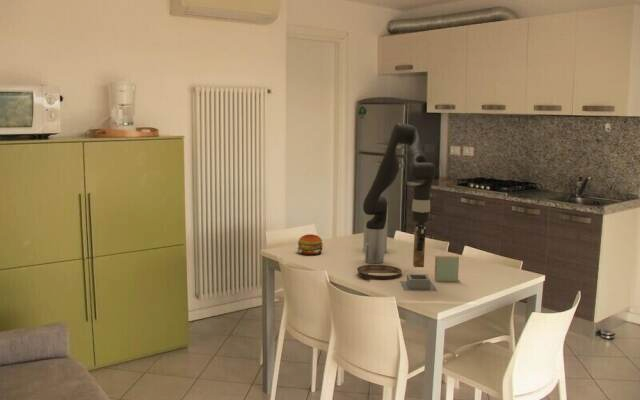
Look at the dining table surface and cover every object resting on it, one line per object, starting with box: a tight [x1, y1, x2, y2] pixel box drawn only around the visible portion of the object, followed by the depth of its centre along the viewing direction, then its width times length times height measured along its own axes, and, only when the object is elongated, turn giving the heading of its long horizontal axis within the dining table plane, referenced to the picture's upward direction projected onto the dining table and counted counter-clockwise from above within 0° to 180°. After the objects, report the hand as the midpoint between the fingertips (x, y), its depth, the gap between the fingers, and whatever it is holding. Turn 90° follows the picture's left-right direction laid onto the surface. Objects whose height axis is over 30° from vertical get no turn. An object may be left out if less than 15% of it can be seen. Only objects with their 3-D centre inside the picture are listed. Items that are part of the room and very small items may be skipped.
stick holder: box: [399, 273, 438, 292], centre depth 258 cm, size 14×14×5 cm
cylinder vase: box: [363, 205, 389, 254], centre depth 324 cm, size 12×12×25 cm
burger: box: [297, 234, 324, 256], centre depth 320 cm, size 14×14×10 cm
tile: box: [433, 254, 460, 282], centre depth 268 cm, size 10×3×12 cm, turn 89°
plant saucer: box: [356, 264, 403, 280], centre depth 278 cm, size 21×21×3 cm
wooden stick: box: [412, 228, 427, 268], centre depth 256 cm, size 4×4×16 cm
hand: (419, 249), depth 256 cm, fingers closed on wooden stick, 4 cm apart
